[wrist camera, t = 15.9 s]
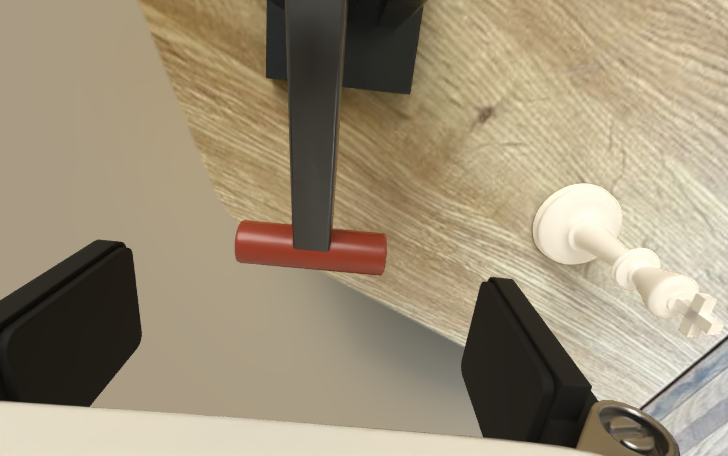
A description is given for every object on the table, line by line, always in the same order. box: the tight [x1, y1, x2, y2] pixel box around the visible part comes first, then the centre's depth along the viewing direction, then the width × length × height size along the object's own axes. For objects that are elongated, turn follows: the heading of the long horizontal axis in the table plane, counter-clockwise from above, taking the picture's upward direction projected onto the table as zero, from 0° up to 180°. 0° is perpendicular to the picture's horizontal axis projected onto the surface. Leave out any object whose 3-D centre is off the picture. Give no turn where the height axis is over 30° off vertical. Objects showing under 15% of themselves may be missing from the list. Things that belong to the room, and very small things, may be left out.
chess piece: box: [533, 183, 724, 338], centre depth 19 cm, size 5×5×10 cm
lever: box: [235, 0, 387, 275], centre depth 9 cm, size 12×4×2 cm, turn 174°
